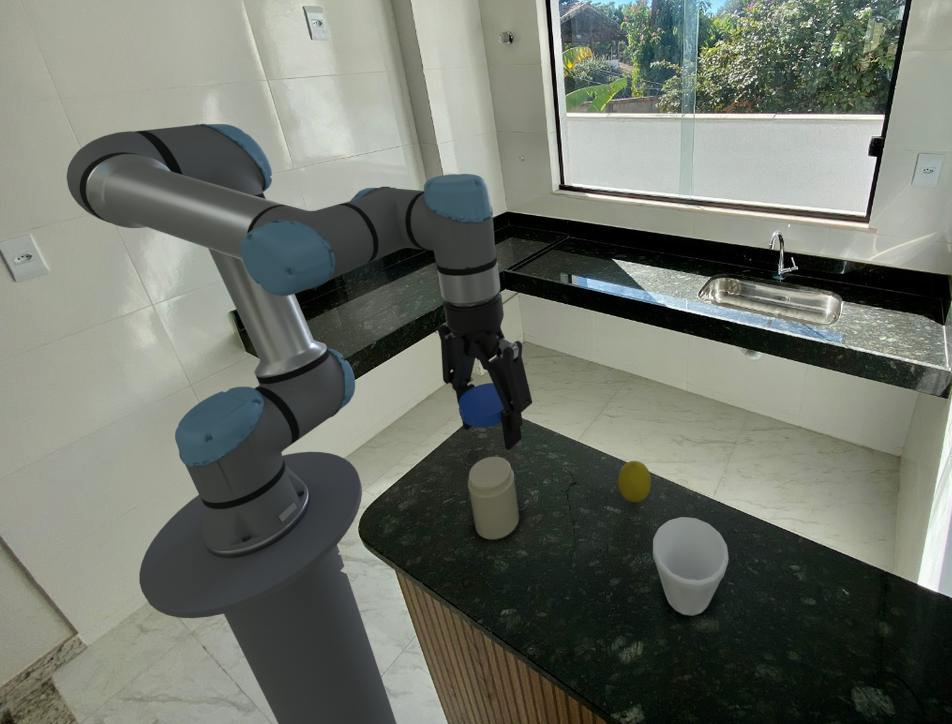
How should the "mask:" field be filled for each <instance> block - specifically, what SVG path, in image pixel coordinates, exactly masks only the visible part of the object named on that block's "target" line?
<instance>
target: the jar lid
mask: <svg viewBox="0 0 952 724" xmlns="http://www.w3.org/2000/svg"><path fill="white" fill-rule="evenodd" d="M503 409H504V407H503V404H502V402H501V400H500V398H499V395H498V393H497V391H496V389H495V386H494V384H493V382H488V383H482V384H478V385H475V387H473V388H471V389H470V390H468V391H467V392H465V393H464V394H463V395H462V396H461V398H460V400H459V405H458V412H459V416H460V418H461V421H462V420H463V421H464V422H465V423H466V424H468V425H470V426H472V427H474V428H490V427H493V426H497V425H500V424H502V420H501V412H500V411H501V410H503Z"/></svg>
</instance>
